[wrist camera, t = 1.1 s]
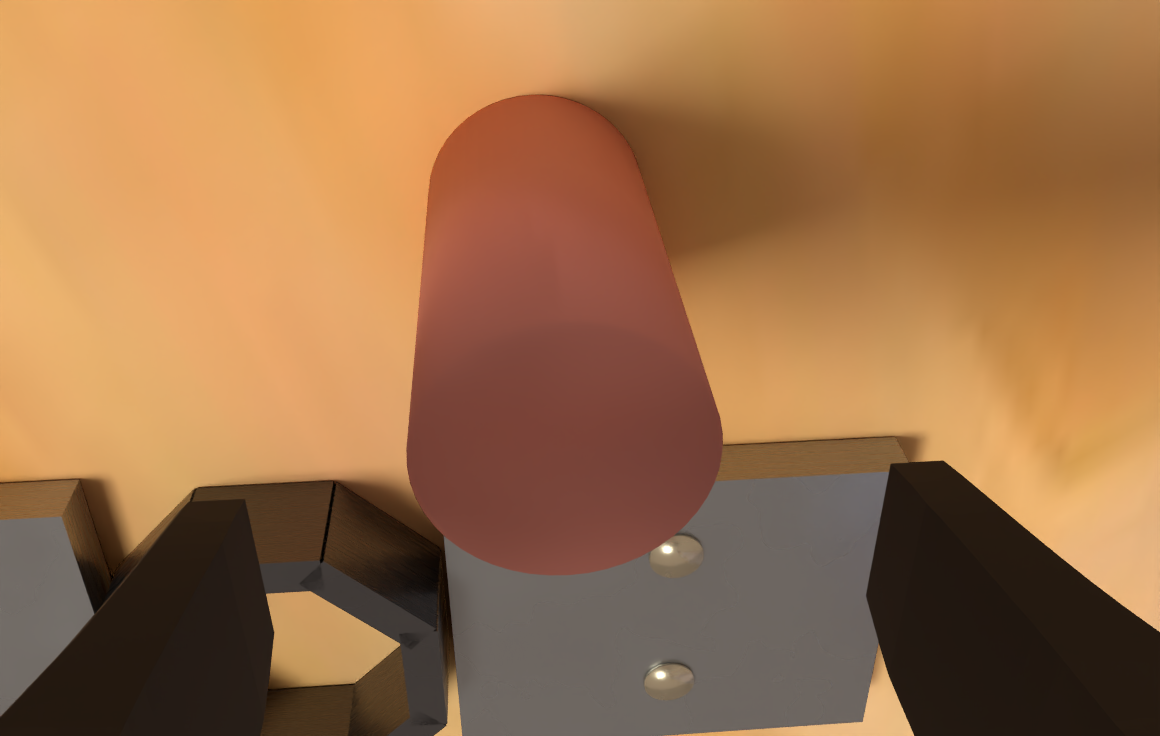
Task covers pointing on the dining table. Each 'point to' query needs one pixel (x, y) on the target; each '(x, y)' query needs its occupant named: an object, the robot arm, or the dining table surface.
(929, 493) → the robot arm
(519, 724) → the hinge
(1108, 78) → the dining table surface
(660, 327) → the hinge pin
